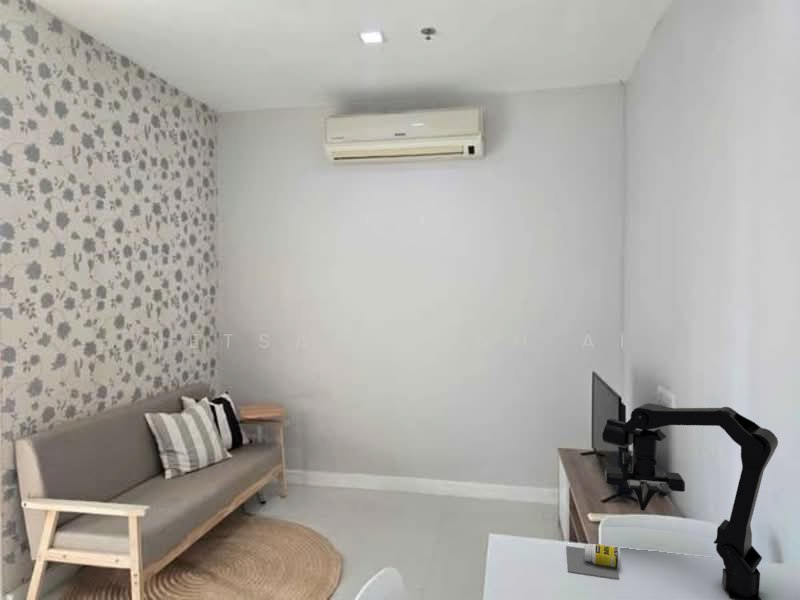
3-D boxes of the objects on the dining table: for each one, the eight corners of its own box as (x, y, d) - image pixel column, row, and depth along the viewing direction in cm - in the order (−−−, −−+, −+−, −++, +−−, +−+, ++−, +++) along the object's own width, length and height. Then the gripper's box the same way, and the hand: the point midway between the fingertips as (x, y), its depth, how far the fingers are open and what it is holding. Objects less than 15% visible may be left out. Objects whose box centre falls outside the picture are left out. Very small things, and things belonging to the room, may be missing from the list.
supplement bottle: (620, 555, 134) (585, 549, 136) (620, 572, 135) (584, 566, 137) (619, 543, 138) (584, 538, 141) (618, 560, 139) (584, 554, 142)
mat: (613, 553, 143) (613, 552, 143) (619, 579, 132) (619, 578, 131) (566, 547, 146) (566, 545, 146) (567, 572, 135) (568, 571, 135)
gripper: (676, 445, 146) (673, 500, 147) (603, 439, 151) (601, 492, 152) (686, 460, 135) (683, 519, 137) (607, 453, 140) (605, 510, 142)
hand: (642, 509), depth 142 cm, fingers closed
